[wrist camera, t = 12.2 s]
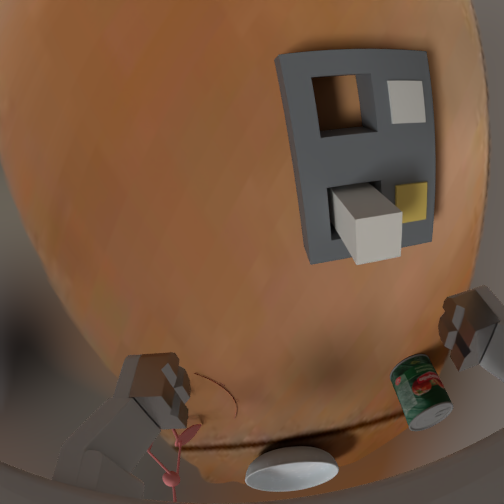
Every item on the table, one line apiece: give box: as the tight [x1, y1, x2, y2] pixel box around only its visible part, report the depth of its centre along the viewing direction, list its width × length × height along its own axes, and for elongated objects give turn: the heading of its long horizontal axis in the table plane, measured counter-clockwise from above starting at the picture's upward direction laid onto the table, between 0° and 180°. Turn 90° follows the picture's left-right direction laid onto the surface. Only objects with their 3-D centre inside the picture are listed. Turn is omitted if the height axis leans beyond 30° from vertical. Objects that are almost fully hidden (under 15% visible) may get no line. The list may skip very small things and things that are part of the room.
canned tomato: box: [390, 354, 453, 431], centre depth 42 cm, size 8×8×11 cm
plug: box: [327, 182, 402, 265], centre depth 28 cm, size 4×4×10 cm
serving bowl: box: [245, 446, 339, 492], centre depth 58 cm, size 21×21×7 cm
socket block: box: [274, 49, 435, 265], centre depth 27 cm, size 20×14×4 cm
